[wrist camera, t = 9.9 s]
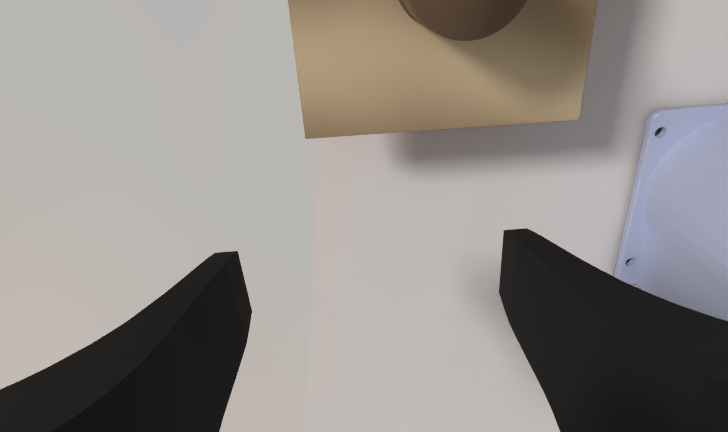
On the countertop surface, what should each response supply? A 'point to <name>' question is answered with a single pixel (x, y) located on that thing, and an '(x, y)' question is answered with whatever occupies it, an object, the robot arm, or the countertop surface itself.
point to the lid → (438, 63)
